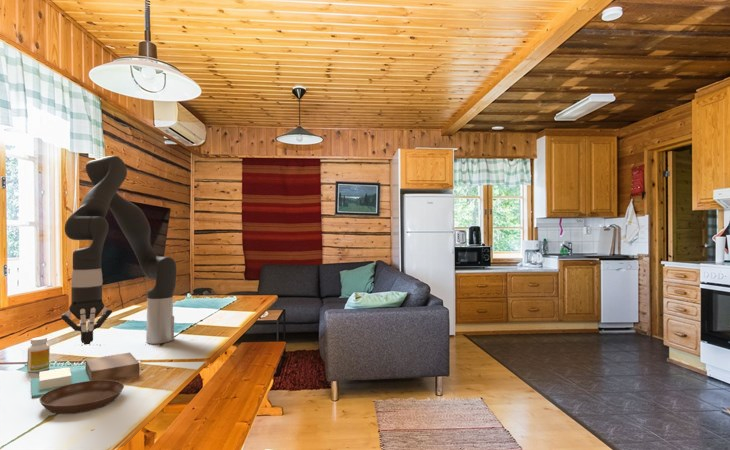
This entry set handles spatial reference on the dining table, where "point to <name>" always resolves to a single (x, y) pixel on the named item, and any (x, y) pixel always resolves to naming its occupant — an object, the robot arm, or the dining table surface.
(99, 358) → the bronze rectangular block
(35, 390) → the mat
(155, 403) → the dining table surface
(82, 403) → the plant saucer
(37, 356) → the supplement bottle
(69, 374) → the white block
